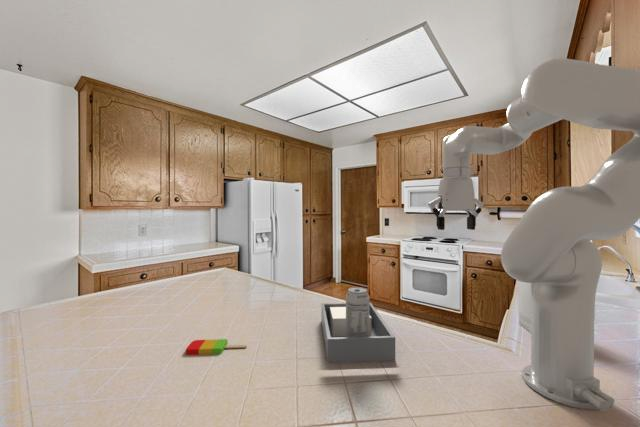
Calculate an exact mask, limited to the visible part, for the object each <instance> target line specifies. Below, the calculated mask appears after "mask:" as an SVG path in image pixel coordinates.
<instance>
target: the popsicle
mask: <svg viewBox="0 0 640 427" xmlns="http://www.w3.org/2000/svg"><path fill="white" fill-rule="evenodd" d="M228 341H229V340H228V338H227V339H226V338H224V339H223V338H222V339H221V338H219V339H218V338H217V339H194V340H193V341H191V343H190V344H189V345H188V346H187V347H186V348H185V354H186V355H187V356H196V355H197V356H200V355H201V356H202V355H221V354H223V353H224V350H225V349H246V348H247V347H248V345H247V344H238V345H237V344H236V345H234V344H233V345H231V344H230V345H228Z"/></svg>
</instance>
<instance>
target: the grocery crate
mask: <svg viewBox="0 0 640 427" xmlns="http://www.w3.org/2000/svg"><path fill="white" fill-rule="evenodd" d="M330 307H346V302H331V303H330V302H329V303H321V326H322V333H323V340H324V349H325V355H326V360H327V364H335V363H342V364H343V363H365V362H366V363H369V362H370V363H372V362H395V361H396V336H395V335H394V333H393V331H391V329H390V328H389V326H388V325H387V323H386V322H385V321H384V319H383V318H382V316H381V315H380V313H379V312H378V311H377V309H376V308H375V307H374V305H373V303H372V302H370V316H371V335H370V336H369V337H346V336H333V335H332V331H331V326H330Z"/></svg>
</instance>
